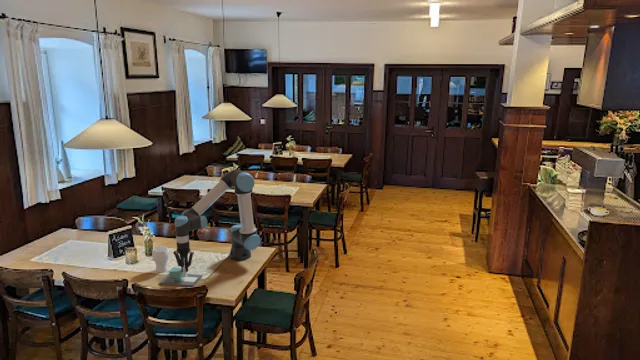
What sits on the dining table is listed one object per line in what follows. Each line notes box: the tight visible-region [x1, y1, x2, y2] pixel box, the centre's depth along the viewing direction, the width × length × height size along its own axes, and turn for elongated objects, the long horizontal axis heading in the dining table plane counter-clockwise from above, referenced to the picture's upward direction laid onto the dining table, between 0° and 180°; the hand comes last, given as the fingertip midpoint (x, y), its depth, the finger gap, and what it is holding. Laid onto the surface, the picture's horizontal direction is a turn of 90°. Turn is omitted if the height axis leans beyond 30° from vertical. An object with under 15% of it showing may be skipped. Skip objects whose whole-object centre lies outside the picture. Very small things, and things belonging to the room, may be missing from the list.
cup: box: [151, 245, 170, 274], centre depth 294 cm, size 11×11×15 cm
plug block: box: [168, 267, 184, 281], centre depth 280 cm, size 7×6×6 cm
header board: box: [158, 273, 203, 288], centre depth 281 cm, size 22×14×5 cm, turn 82°
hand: (185, 276), depth 280 cm, fingers closed
